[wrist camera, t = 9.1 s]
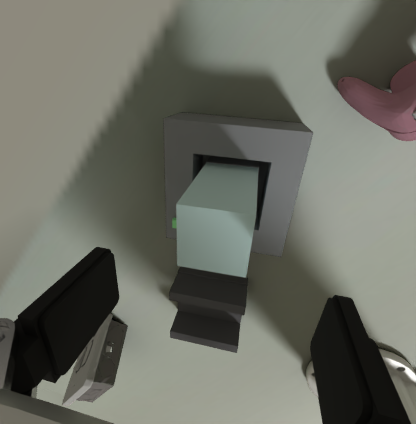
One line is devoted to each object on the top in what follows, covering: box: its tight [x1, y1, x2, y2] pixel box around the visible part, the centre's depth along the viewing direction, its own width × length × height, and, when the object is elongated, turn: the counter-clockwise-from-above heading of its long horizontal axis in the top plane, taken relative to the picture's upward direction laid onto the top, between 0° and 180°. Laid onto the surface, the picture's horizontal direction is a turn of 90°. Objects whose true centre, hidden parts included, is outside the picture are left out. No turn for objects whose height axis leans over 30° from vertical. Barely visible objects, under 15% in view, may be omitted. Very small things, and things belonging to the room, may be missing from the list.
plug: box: [176, 155, 259, 278], centre depth 17 cm, size 4×4×10 cm
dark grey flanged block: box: [169, 266, 248, 353], centre depth 28 cm, size 8×8×4 cm
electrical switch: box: [62, 314, 128, 407], centre depth 34 cm, size 9×5×9 cm, turn 143°
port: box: [164, 112, 313, 257], centre depth 20 cm, size 10×10×5 cm
